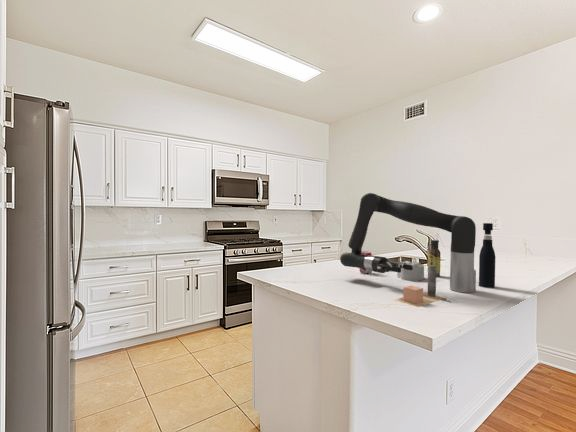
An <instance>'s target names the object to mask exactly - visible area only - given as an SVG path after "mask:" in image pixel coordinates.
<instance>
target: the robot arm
mask: <svg viewBox="0 0 576 432" xmlns="http://www.w3.org/2000/svg"><path fill="white" fill-rule="evenodd" d="M374 212H376V213H382V214H387V215H389V216H392V217H394V218H396V219H399V220H400V221H403V222H405V223H406V222H407V223H410V224H413V225H418V226H422V227H430V228H435V229H436V228H437V229H440V230H443V231H446V232H449V233H450V234H451V236H450V237H451V240H450V241H451V242H450V259H449V260H450V264H449V265H450V266H449V267H450V268H449V270H450V271H449V277H450V278H449V289H450V290H452V291H454V292H458V293H474V292H476V287H477V285H476V283H477V282H476V281H477V278H476V277H477V270H476V269H475V247H476V237H477V235H476V234H477V233H476V232H477V227H476V224H475V221H474V220H473V219H472V218H470V217H468V216H463V215H452V214H448V213H443V212H441V211H438V210H435V209H433V208H430V207H427V206H424V205H420V204H417V203H412V202H408V201H403V200H402V201H401V200H393V199H390V198H386V197H384V196H381V195H378V194H376V193H373V192H367V193H365V194H363V195H362V196H361V198H360V202H359V209H358V214H357V219H356V221H355V224H354V227H353V230H352V232H351V235H350V239H349V240H348V241H349V242H348V247H349V249H351V252H343V254H341V255H340V257H339V261H340V264H341V265H342V266H344V267H348V268H358V269H359V268H361V269H366V270H369V271H372V273H373V272H374V273H379V274H385V273H389V272H390V273H392V272H394V273H397V272H399V273H400V272H401V269H406V270H413V266H412V265H407V264H406V263H402V262H403V261H401V262H400V261H392V260H391V261H389V260H388V258H387V257H385V256H380V255H379V256H378V255H372V256H369V255H361V252H362V249H363V246H364V243H365V240H366V237H367V234H368V229H369V228H368V227H369V224H370V222H371V219H372V217H373V215H374ZM402 265H403V267H402Z"/></svg>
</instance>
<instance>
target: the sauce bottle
mask: <svg viewBox="0 0 576 432" xmlns="http://www.w3.org/2000/svg"><path fill="white" fill-rule="evenodd" d="M439 242H440V240H438V239H430V249H428V253H427V266H428V265H434V266H436V278H437V277H439V278H440V275H441V261H442V260H441V251H440V249H439Z"/></svg>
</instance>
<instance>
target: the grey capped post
mask: <svg viewBox="0 0 576 432" xmlns="http://www.w3.org/2000/svg"><path fill="white" fill-rule="evenodd" d="M436 291H437V277H436V266H434V265H428V264H427V292H424V291H423V302H420V303H417V304H414V303H411V302H407V301H403V297H400V298H395V299H394V301H396V302H399V303H403V304H406V305H409V306H413V307H417V308H419V307H423V306H425V305H429V304H432V303H435V302H438V301H443V302H446V300H447V297H445V296H441V295H437V292H436ZM447 301H448V300H447Z"/></svg>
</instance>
